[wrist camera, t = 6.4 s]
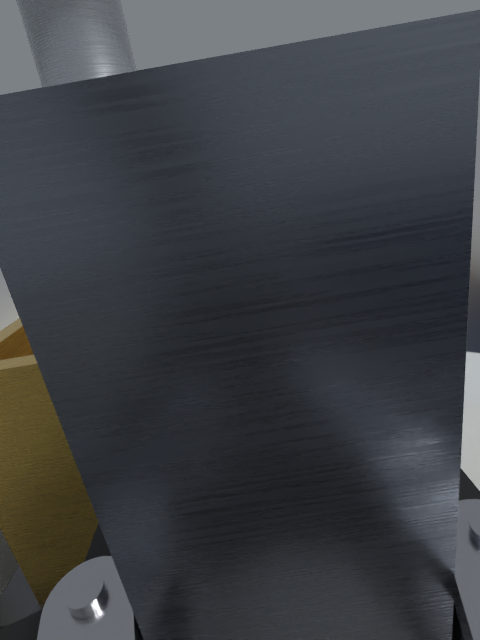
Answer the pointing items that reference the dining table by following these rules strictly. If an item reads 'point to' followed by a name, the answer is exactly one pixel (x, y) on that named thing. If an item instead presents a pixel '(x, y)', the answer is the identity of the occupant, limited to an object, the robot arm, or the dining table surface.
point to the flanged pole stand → (17, 356)
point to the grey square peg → (259, 323)
